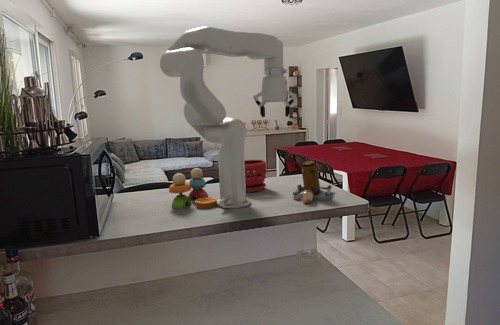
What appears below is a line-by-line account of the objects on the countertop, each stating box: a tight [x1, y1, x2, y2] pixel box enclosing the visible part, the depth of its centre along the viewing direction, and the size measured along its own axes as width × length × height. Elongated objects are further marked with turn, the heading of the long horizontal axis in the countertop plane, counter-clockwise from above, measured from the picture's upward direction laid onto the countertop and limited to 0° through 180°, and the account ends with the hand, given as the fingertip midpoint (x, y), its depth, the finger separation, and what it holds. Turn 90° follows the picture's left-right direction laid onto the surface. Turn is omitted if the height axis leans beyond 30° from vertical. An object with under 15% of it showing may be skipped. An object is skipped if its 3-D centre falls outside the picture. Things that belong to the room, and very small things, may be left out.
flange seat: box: [292, 184, 332, 205], centre depth 146 cm, size 18×14×4 cm
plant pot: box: [244, 159, 267, 193], centre depth 161 cm, size 13×13×12 cm
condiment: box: [301, 160, 328, 195], centre depth 147 cm, size 7×8×12 cm
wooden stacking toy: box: [168, 167, 218, 210], centre depth 145 cm, size 18×17×12 cm
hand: (275, 116), depth 154 cm, fingers open, 9 cm apart
